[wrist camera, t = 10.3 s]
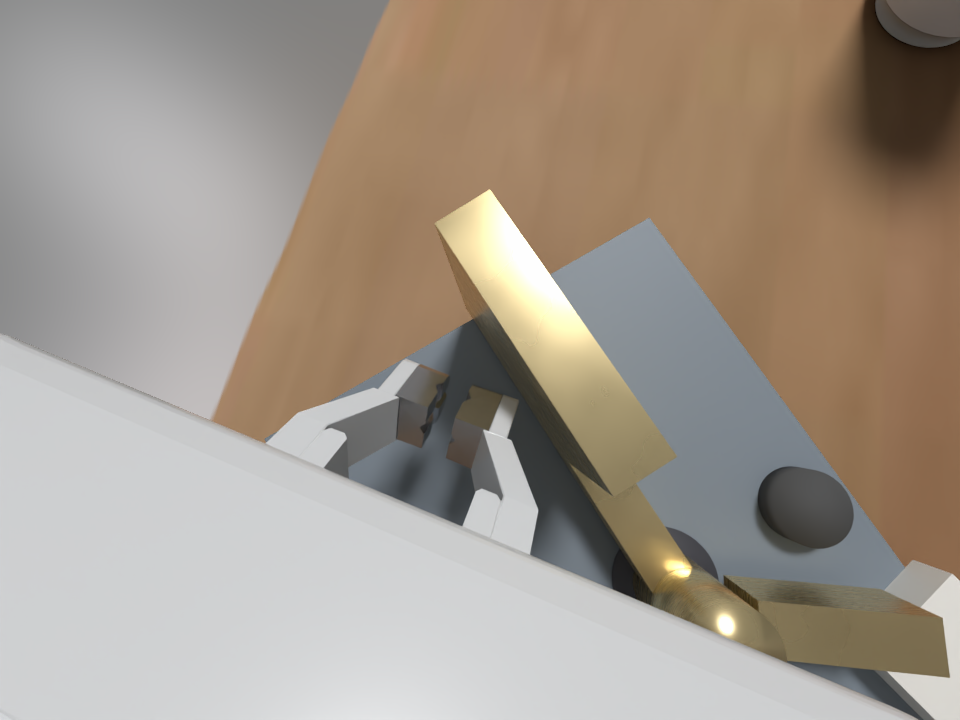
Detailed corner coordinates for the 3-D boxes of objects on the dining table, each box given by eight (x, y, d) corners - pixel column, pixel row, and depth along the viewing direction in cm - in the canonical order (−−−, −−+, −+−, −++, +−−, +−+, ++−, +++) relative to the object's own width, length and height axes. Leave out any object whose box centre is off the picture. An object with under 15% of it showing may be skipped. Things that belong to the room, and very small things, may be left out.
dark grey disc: (803, 453, 14) (820, 455, 13) (849, 518, 14) (870, 524, 13) (743, 488, 14) (756, 492, 13) (788, 554, 14) (804, 563, 13)
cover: (912, 559, 13) (952, 573, 12) (1010, 650, 13) (1061, 674, 12) (840, 636, 13) (873, 657, 12) (935, 731, 13) (980, 764, 11)
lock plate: (633, 239, 18) (650, 216, 16) (940, 670, 14) (1013, 712, 12) (291, 436, 18) (262, 439, 16) (514, 926, 14) (516, 1013, 12)
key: (883, 600, 13) (1331, 820, 6) (774, 736, 13) (1117, 1147, 6) (501, 272, 16) (497, 159, 9) (403, 374, 16) (318, 342, 9)
